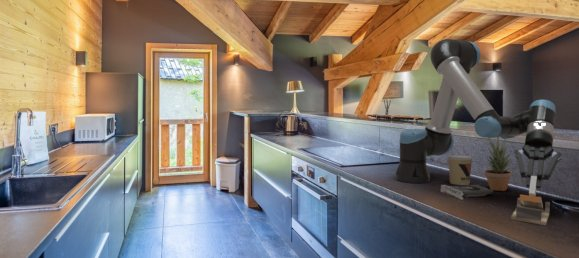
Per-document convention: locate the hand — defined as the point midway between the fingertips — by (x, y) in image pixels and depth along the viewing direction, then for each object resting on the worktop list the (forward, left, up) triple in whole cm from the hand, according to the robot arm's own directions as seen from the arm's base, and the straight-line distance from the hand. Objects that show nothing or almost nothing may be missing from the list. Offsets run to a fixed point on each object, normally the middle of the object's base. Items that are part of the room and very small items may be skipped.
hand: (532, 195), depth 105 cm
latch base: (-1, 0, -7) cm, 7 cm away
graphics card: (-14, -24, -8) cm, 28 cm away
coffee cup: (-30, -34, -7) cm, 46 cm away
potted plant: (-31, -19, -7) cm, 37 cm away
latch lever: (-6, -1, -5) cm, 8 cm away
